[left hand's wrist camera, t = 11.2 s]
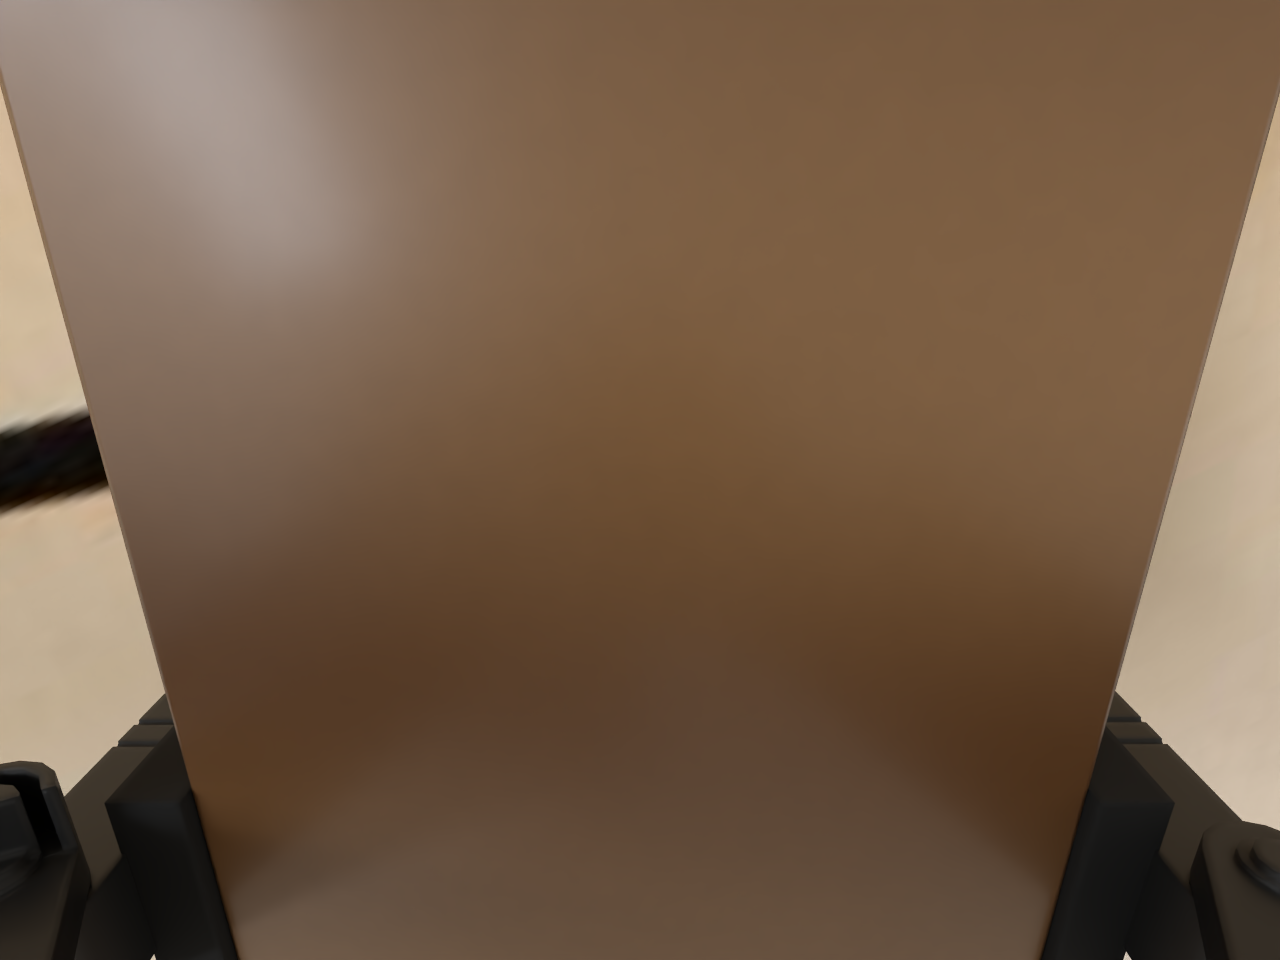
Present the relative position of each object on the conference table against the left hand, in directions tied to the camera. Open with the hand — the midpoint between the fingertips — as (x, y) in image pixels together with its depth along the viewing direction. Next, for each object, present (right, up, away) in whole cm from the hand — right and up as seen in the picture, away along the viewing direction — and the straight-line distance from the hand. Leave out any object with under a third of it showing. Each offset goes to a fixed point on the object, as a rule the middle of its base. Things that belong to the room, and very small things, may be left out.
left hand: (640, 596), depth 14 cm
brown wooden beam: (0, +21, -7) cm, 22 cm away
